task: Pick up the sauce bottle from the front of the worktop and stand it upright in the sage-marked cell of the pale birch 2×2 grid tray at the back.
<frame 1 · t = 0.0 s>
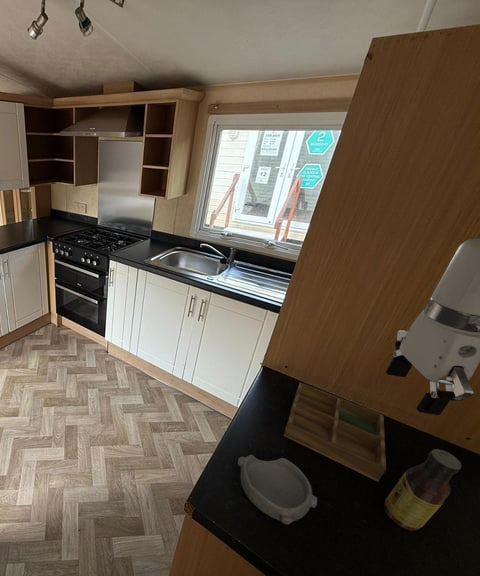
hand: (410, 392, 59), 30 cm above the worktop, tool pointing down, fingers open, 9 cm apart
sauce bottle: (399, 517, 67), on the worktop
grid: (330, 430, 86), on the worktop
dish: (272, 493, 71), on the worktop
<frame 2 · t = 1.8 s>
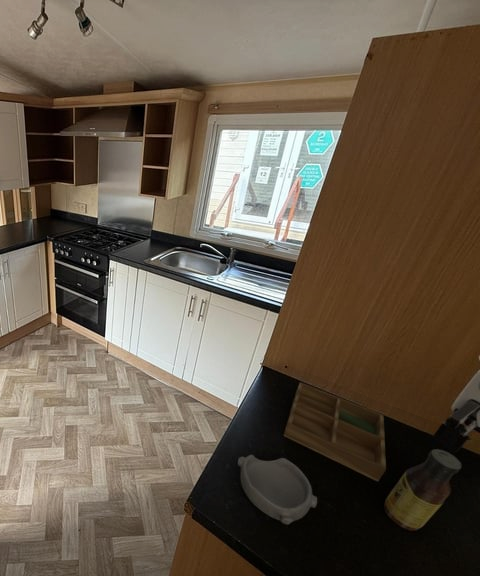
hand: (460, 437, 56), 25 cm above the worktop, tool pointing down, fingers open, 9 cm apart
nothing on the worktop moved.
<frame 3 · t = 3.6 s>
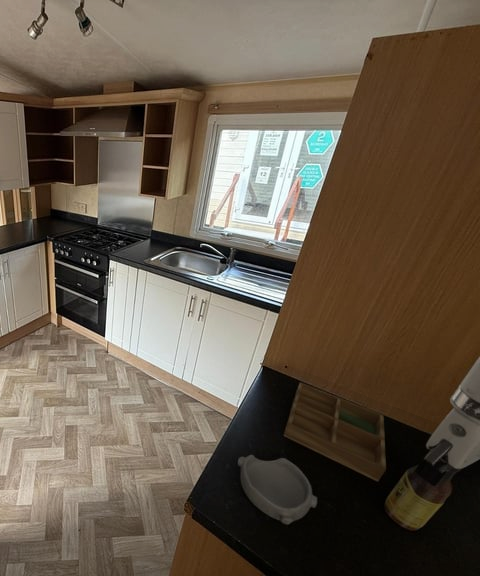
hand: (433, 473, 60), 15 cm above the worktop, tool pointing down, fingers closed on sauce bottle, 4 cm apart
sauce bottle: (400, 517, 67), on the worktop, touching gripper
everything else where it was.
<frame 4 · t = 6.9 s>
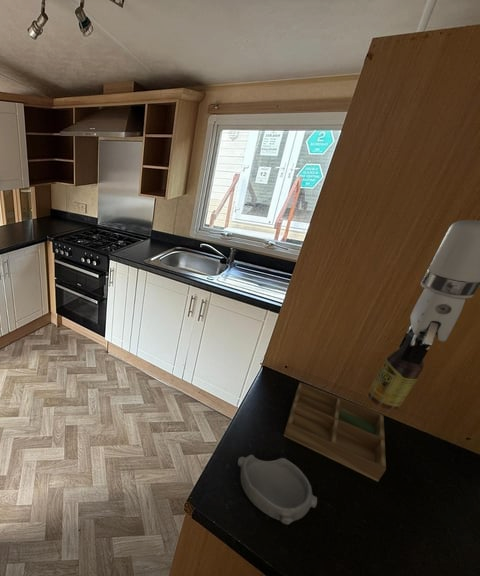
hand: (409, 355, 71), 29 cm above the worktop, tool pointing down, fingers closed on sauce bottle, 4 cm apart
sauce bottle: (382, 402, 77), point 14 cm above the worktop, touching gripper
everything else where it was.
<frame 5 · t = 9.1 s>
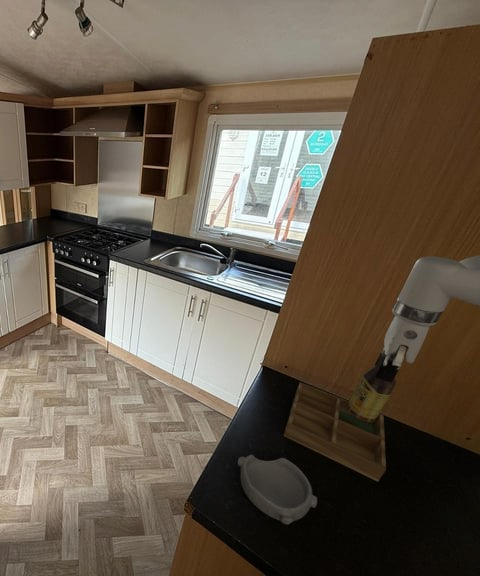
hand: (382, 373, 78), 20 cm above the worktop, tool pointing down, fingers closed on sauce bottle, 4 cm apart
sauce bottle: (360, 415, 85), point 5 cm above the worktop, touching gripper
everything else where it was.
when the fingers open (16 cm above the worktop, at t = 10.6 s): sauce bottle stays where it is, resting on grid.
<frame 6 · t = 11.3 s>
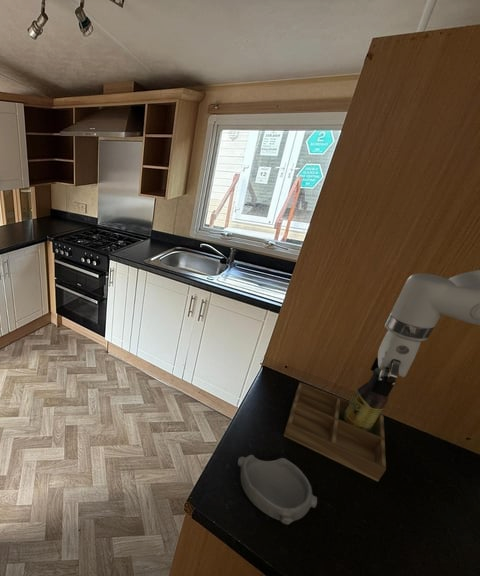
hand: (378, 382, 80), 17 cm above the worktop, tool pointing down, fingers open, 9 cm apart
sauce bottle: (354, 426, 87), point 1 cm above the worktop, touching grid
everything else where it was.
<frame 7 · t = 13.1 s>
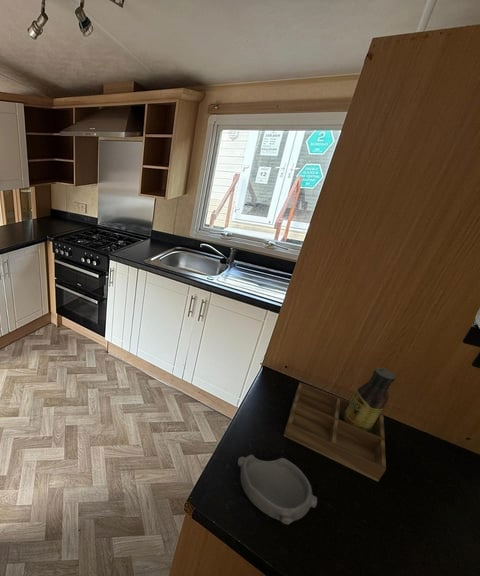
hand: (477, 356, 64), 33 cm above the worktop, tool pointing down, fingers open, 9 cm apart
nothing on the worktop moved.
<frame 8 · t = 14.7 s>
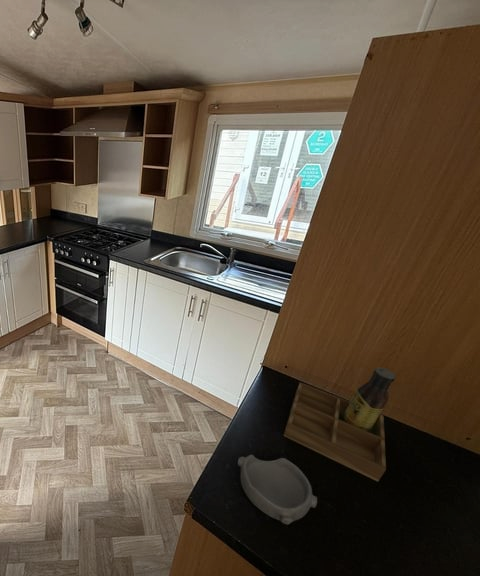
nothing on the worktop moved.
at the end: sauce bottle 0.2 cm from the target spot in the grid, point 0.6 cm above the grid's base; sauce bottle tilted 0°; the gripper is holding nothing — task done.
